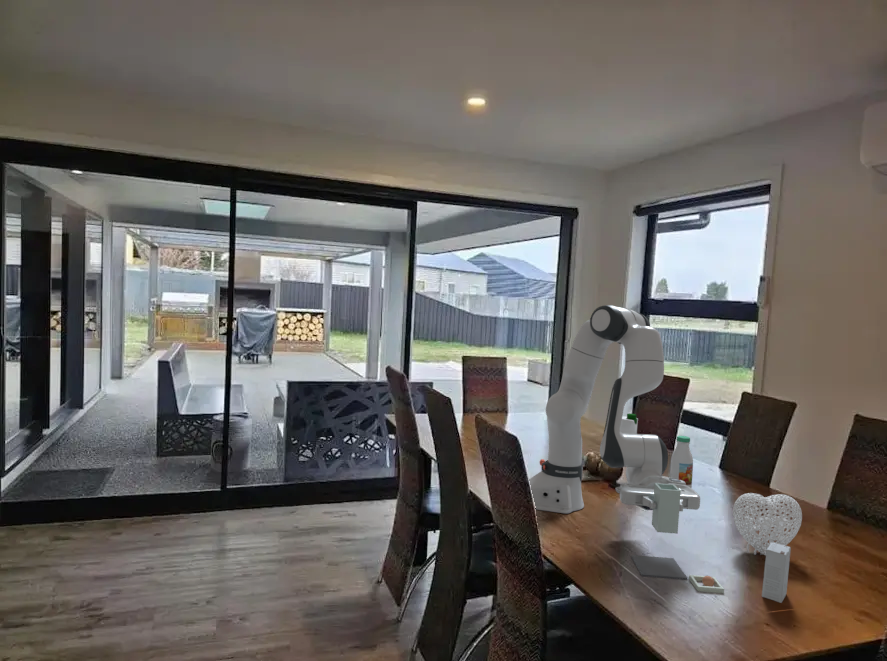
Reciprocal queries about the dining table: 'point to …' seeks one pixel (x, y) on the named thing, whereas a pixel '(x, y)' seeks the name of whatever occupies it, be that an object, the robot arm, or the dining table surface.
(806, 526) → the dining table surface
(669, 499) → the celadon tumbler
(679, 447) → the milk bottle
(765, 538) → the decorative heart
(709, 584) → the terracotta ball
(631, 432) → the milk carton
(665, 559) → the slate coaster
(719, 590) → the sage dish
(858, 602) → the dining table surface
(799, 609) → the dining table surface
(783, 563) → the skincare box
